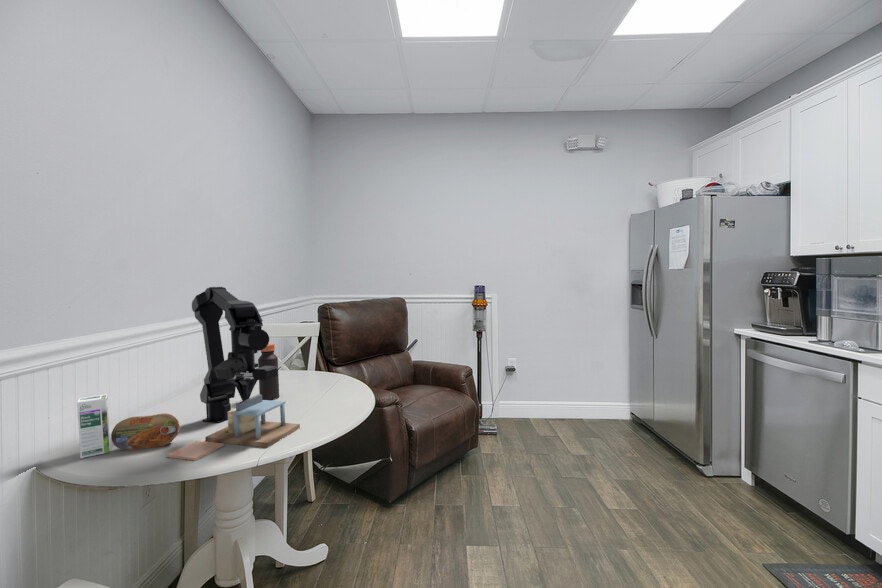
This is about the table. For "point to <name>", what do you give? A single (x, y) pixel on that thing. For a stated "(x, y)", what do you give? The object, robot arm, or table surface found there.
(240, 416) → the maple block
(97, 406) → the syrup box
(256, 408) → the light blue toy bench
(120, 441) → the tin
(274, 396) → the bottle
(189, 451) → the terracotta tile
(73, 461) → the table surface
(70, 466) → the table surface
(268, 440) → the puzzle board
